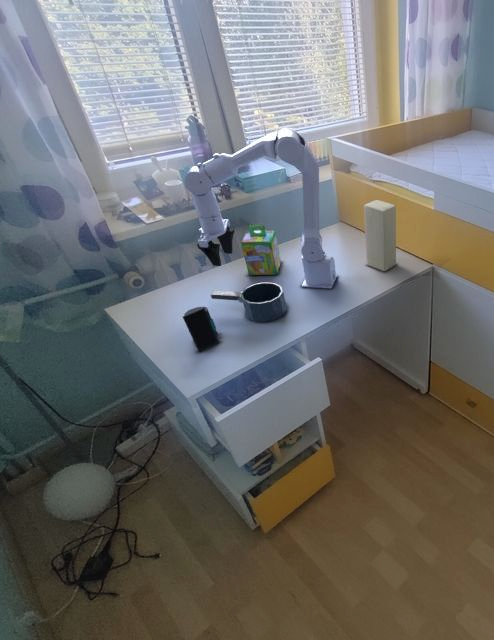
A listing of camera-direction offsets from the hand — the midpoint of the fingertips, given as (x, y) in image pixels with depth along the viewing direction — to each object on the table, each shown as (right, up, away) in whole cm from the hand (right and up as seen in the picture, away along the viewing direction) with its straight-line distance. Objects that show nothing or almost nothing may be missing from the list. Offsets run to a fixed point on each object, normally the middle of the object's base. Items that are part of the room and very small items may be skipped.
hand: (223, 259), depth 125 cm
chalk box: (+6, 0, +17) cm, 18 cm away
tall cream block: (+44, +3, +22) cm, 50 cm away
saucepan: (+9, -15, -2) cm, 18 cm away
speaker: (+2, -24, -13) cm, 28 cm away
